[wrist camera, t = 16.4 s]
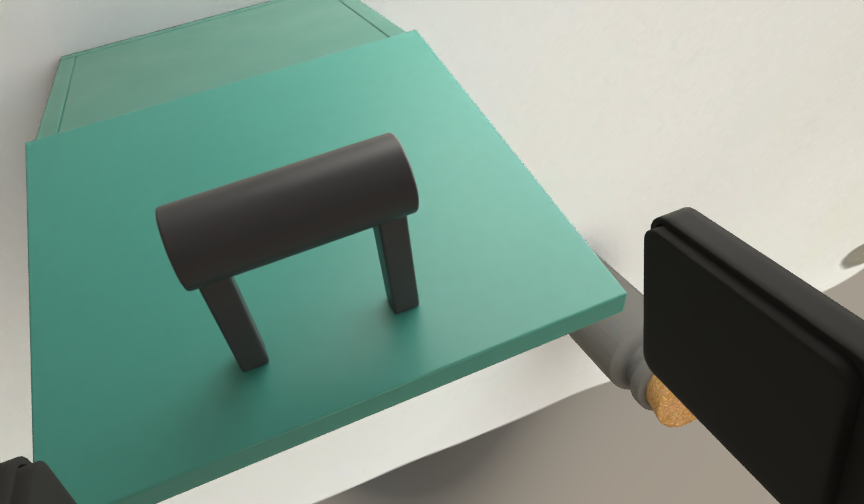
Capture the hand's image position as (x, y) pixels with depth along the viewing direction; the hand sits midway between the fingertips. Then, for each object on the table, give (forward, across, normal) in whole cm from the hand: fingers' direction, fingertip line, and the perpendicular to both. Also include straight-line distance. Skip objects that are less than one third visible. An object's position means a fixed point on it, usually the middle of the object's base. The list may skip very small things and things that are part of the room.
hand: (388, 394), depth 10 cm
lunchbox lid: (+11, 0, +3) cm, 12 cm away
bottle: (+32, -20, +26) cm, 46 cm away
